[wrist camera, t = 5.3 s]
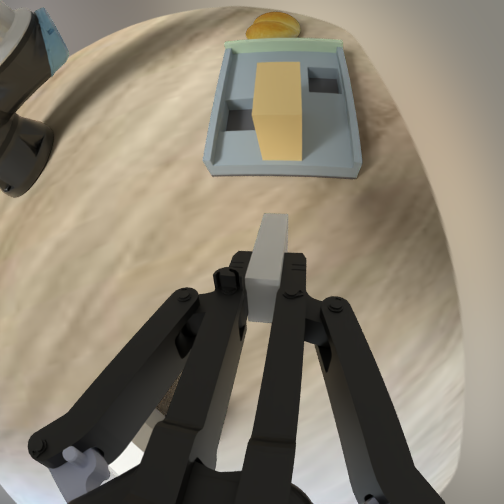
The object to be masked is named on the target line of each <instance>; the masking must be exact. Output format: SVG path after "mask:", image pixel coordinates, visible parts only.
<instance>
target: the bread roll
mask: <svg viewBox="0 0 504 504" xmlns="http://www.w3.org/2000/svg"><path fill="white" fill-rule="evenodd" d="M300 31H301V29H300V25H299V23H298V21H297V20H296V19H295V18H293V17H292V16H290V15H288V14H286V13H282V12H269V13H265V14H263V15H261V16H259V17H258V18H257V19H256V20H255V21H254V24H253V25H252V26H250V27H249V28H248V29H247V31H246V37H247V39H264V38H298V36H299V33H300Z"/></svg>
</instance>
